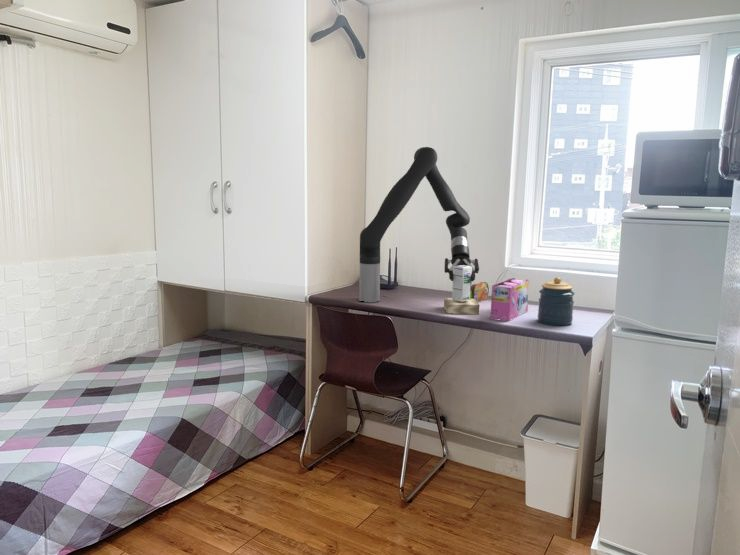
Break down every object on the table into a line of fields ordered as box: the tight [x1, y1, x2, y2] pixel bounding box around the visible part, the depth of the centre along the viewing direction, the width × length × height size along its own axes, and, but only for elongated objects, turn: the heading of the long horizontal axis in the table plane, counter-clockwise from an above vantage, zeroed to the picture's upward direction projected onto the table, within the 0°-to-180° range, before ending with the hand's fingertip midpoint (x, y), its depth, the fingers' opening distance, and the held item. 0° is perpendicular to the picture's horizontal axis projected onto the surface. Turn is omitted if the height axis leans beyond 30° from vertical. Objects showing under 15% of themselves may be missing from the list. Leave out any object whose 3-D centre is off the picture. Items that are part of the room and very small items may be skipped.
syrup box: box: [451, 265, 473, 302], centre depth 231 cm, size 6×6×14 cm
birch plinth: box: [443, 297, 480, 315], centre depth 233 cm, size 13×13×4 cm
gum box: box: [490, 277, 530, 322], centre depth 226 cm, size 24×8×14 cm, turn 146°
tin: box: [471, 281, 490, 303], centre depth 254 cm, size 15×3×8 cm, turn 143°
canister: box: [537, 276, 575, 326], centre depth 214 cm, size 13×13×18 cm
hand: (462, 280), depth 230 cm, fingers closed on syrup box, 8 cm apart
